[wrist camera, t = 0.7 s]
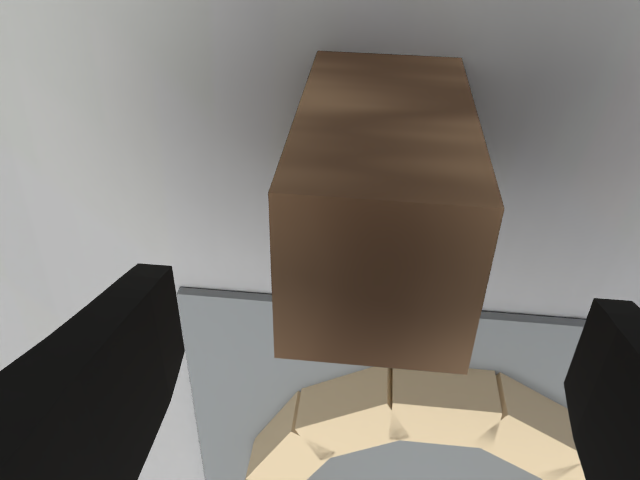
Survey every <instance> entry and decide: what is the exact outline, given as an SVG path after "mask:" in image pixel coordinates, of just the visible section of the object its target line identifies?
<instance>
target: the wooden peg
mask: <svg viewBox="0 0 640 480" xmlns="http://www.w3.org/2000/svg"><path fill="white" fill-rule="evenodd" d="M268 198H269V226H270V254H271V281H272V309H273V337H274V358H281V359H292V360H303V361H315V362H326V363H338V364H349V365H360V366H372V367H383V368H394V369H406V370H417V371H428V372H440V373H451V374H462V375H467V374H468V369H469V365H470V360H471V356H472V351H473V347H474V342H475V338H476V333H477V329H478V324H479V320H480V315H481V311H482V307H483V302H484V298H485V293H486V289H487V284H488V280H489V275H490V271H491V266H492V262H493V257H494V253H495V248H496V244H497V239H498V235H499V231H500V226H501V222H502V217H503V213H504V205H503V202H502V198H501V195H500V191H499V188H498V184H497V181H496V177H495V174H494V170H493V167H492V163H491V160H490V156H489V153H488V149H487V146H486V142H485V139H484V135H483V132H482V128H481V125H480V121H479V118H478V114H477V111H476V107H475V104H474V100H473V97H472V93H471V90H470V86H469V82H468V79H467V75H466V72H465V68H464V65H463V61H462V58H453V57H433V56H413V55H392V54H372V53H352V52H332V51H317V54H316V57H315V60H314V62H313V65H312V68H311V71H310V74H309V77H308V80H307V83H306V85H305V88H304V91H303V94H302V97H301V100H300V103H299V106H298V108H297V111H296V114H295V117H294V120H293V123H292V126H291V129H290V132H289V134H288V137H287V140H286V143H285V146H284V149H283V152H282V155H281V157H280V160H279V163H278V166H277V169H276V172H275V175H274V178H273V180H272V183H271V186H270V189H269V192H268Z"/></svg>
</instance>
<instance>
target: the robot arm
mask: <svg viewBox="0 0 640 480" xmlns="http://www.w3.org/2000/svg"><path fill="white" fill-rule="evenodd" d="M184 351H185V349H184V342H183V336H182V329H181V323H180V316H179V310H178V303H177V297H176V290H175V284H174V277H173V271H172V266H164V265H151V264H137V265H136V266H134V267H133V268H132V269H130V270H129V271H128V272H127V273H125V274H124V275H123V276H122V277H121V278H119V279H118V280H117V281H116V282H114V283H113V284H112V285H111V286H110V287H108V288H107V289H106V290H105V291H104V292H102V293H101V294H100V295H99V296H98V297H96V298H95V299H94V300H93V301H92V302H90V303H89V304H88V305H87V306H85V307H84V308H83V309H82V310H80V311H79V312H78V313H77V314H75V315H74V316H73V317H72V318H70V319H69V320H68V321H67V322H65V323H64V324H63V325H62V326H60V327H59V328H58V329H57V330H55V331H54V332H53V333H52V334H50V335H49V336H48V337H46V338H45V339H44V340H42V341H41V342H40V343H38V344H37V345H36V346H34V347H33V348H31V349H30V350H29V351H27V352H26V353H25V354H23V355H22V356H20V357H19V358H18V359H16V360H15V361H14V362H12V363H11V364H9V365H8V366H7V367H5V368H4V369H3V370H1V371H0V480H138V477H139V475H140V473H141V470H142V468H143V466H144V463H145V461H146V459H147V456H148V454H149V452H150V449H151V447H152V445H153V442H154V440H155V437H156V435H157V433H158V430H159V428H160V426H161V423H162V421H163V418H164V416H165V414H166V411H167V409H168V406H169V404H170V401H171V398H172V394H173V391H174V388H175V384H176V381H177V377H178V374H179V370H180V366H181V362H182V359H183V355H184ZM564 389H565V395H566V402H567V408H568V414H569V419H570V425H571V430H572V435H573V440H574V443H575V447H576V450H577V453H578V456H579V460H580V463H581V466H582V469H583V473H584V476H585V479H586V480H640V308H639V307H638V306H637V305H636V304H635V303H634V302H632V301H625V300H611V299H598V298H594V300H593V302H592V305H591V308H590V311H589V314H588V316H587V319H586V322H585V325H584V327H583V330H582V333H581V336H580V339H579V341H578V344H577V347H576V350H575V353H574V355H573V358H572V361H571V364H570V367H569V369H568V372H567V375H566V378H565V381H564Z"/></svg>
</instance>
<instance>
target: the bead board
mask: <svg viewBox="0 0 640 480" xmlns="http://www.w3.org/2000/svg"><path fill="white" fill-rule="evenodd" d="M177 299H178V306H179V312H180V319H181V325H182V332H183V338H184V345H185V351H186V358H187V365H188V371H189V378H190V384H191V391H192V397H193V404H194V411H195V417H196V424H197V430H198V437H199V443H200V450H201V457H202V463H203V470H204V476H205V480H586V479H585V476H584V473H583V469H582V466H581V463H580V460H579V456H578V453H577V450H576V447H575V443H574V440H573V435H572V430H571V425H570V419H569V414H568V408H567V402H566V395H565V389H564V381H565V378H566V375H567V372H568V369H569V367H570V364H571V361H572V358H573V355H574V353H575V350H576V347H577V344H578V341H579V339H580V336H581V333H582V330H583V327H584V325H585V322H586V320H585V319H572V318H559V317H547V316H534V315H522V314H509V313H497V312H484V311H481V315H480V320H479V324H478V329H477V333H476V338H475V342H474V347H473V351H472V356H471V360H470V365H469V369H468V374H467V375H462V374H451V373H440V372H428V371H417V370H406V369H394V368H383V367H372V366H360V365H349V364H338V363H326V362H315V361H303V360H292V359H281V358H274V337H273V309H272V295H271V294H259V293H246V292H234V291H221V290H209V289H196V288H184V287H180V288H179V290H178V292H177Z"/></svg>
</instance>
